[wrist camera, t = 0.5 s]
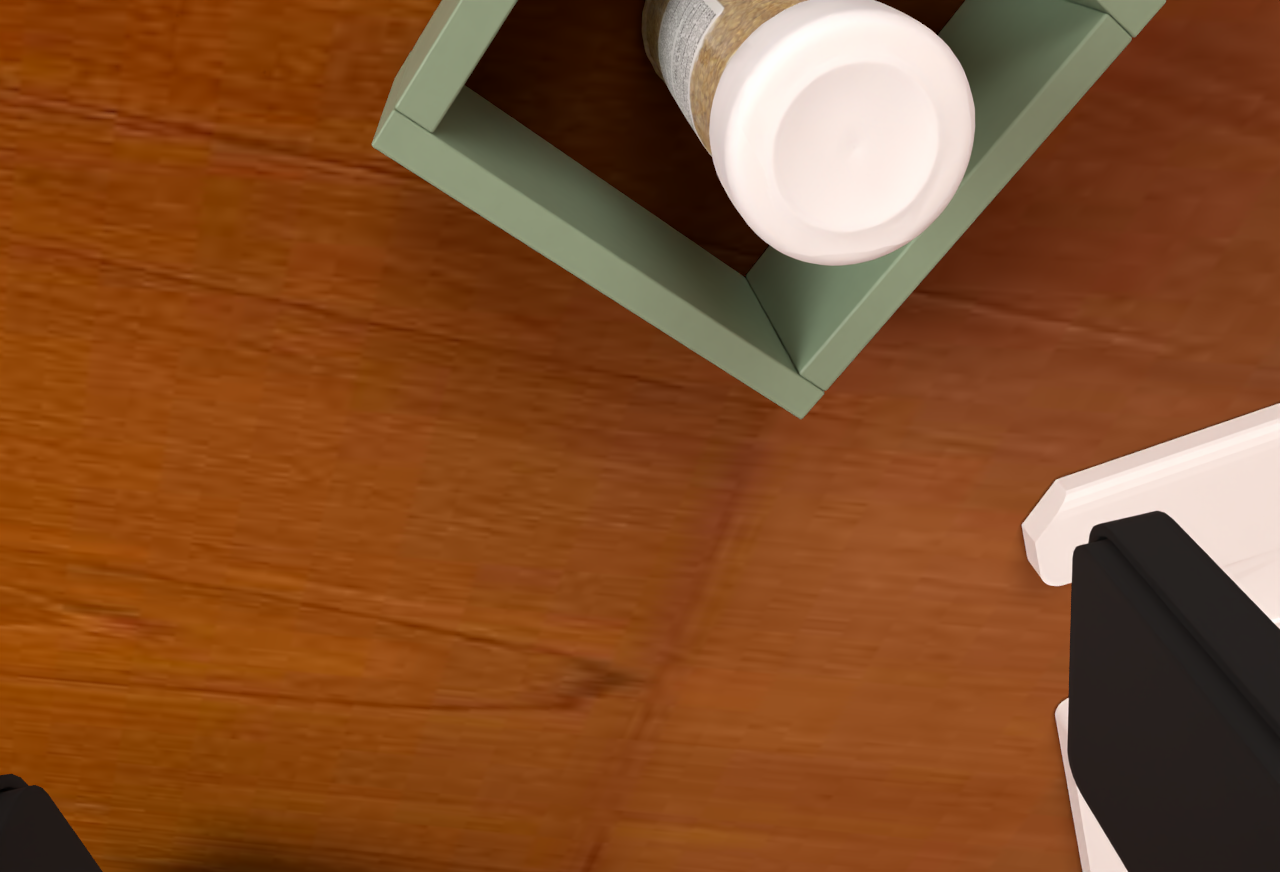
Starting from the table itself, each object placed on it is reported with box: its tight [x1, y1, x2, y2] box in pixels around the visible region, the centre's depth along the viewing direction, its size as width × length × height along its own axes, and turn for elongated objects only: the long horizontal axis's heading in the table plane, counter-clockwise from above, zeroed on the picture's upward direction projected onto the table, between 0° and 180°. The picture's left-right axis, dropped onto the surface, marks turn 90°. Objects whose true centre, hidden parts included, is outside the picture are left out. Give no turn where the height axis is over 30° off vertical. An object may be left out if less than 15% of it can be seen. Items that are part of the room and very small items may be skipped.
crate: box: [372, 0, 1166, 419], centre depth 27 cm, size 13×13×7 cm
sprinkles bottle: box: [641, 0, 975, 266], centre depth 24 cm, size 5×5×14 cm
